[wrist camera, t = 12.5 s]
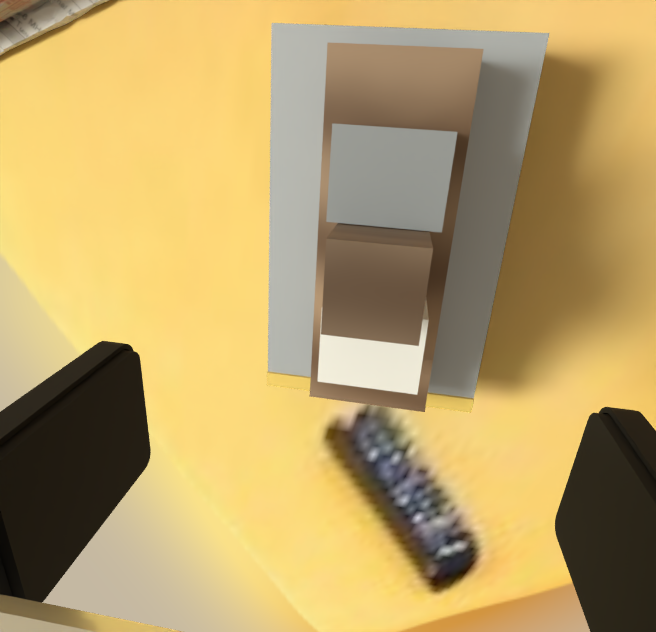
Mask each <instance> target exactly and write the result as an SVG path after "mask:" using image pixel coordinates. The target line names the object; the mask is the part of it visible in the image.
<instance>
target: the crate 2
mask: <svg viewBox="0 0 656 632" xmlns="http://www.w3.org/2000/svg"><path fill="white" fill-rule="evenodd" d="M321 322H322V312H321ZM428 322H429V318H428V309H427V301H426V300H425V307H424V314H423V321H422V327H421V334H420V341H419V346H414V345H406V344H397V343H389V342H380V341H372V340H364V339H355V338H347V337H338V336H330V335H322V334H321V329H320V347H319V364H318V382H325V383H333V384H340V385H348V386H355V387H363V388H371V389H378V390H386V391H393V392H401V393H408V394H416V395H417V393H418V387H419V380H420V374H421V367H422V361H423V354H424V348H425V341H426V335H427V328H428Z"/></svg>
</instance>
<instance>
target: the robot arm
mask: <svg viewBox="0 0 656 632" xmlns="http://www.w3.org/2000/svg"><path fill="white" fill-rule="evenodd" d="M149 459H150V442H149V433H148V424H147V416H146V407H145V398H144V390H143V381H142V372H141V364H140V357H139V355H138V353H137V352H134V351H133V349H132V347H131V346H130V345H129V344H123V343H115V342H107V341H101V342H99V343H98V344H96V345H95V346H93V347H92V348H90V349H89V350H88V351H86V352H85V353H83V354H82V355H80V356H79V357H78V358H76V359H75V360H73V361H72V362H70V363H69V364H68V365H66V366H65V367H63V368H62V369H61V370H59V371H58V372H56V373H55V374H53V375H52V376H51V377H49V378H48V379H46V380H45V381H43V382H42V383H41V384H39V385H38V386H36V387H35V388H34V389H32V390H31V391H29V392H28V393H26V394H25V395H24V396H22V397H21V398H19V399H18V400H16V401H15V402H14V403H12V404H11V405H9V406H8V407H6V408H5V409H4V410H2V411H1V412H0V632H181V631H177V630H172V629H168V628H163V627H158V626H153V625H148V624H143V623H138V622H133V621H128V620H124V619H119V618H114V617H109V616H104V615H99V614H95V613H90V612H85V611H80V610H75V609H70V608H65V607H60V606H56V605H50V604H46V603H42V602H43V601H44V600H45V599H46V597H47V596H48V594H49V593H50V592H51V591H52V589H53V588H54V587H55V585H56V584H57V583H58V581H59V580H60V579H61V578H62V576H63V575H64V574H65V572H66V571H67V570H68V569H69V567H70V566H71V565H72V563H73V562H74V561H75V559H76V558H77V557H78V556H79V554H80V553H81V552H82V550H83V549H84V548H85V546H86V545H87V544H88V542H89V541H90V540H91V539H92V537H93V536H94V535H95V533H96V532H97V531H98V529H99V528H100V527H101V525H102V524H103V523H104V522H105V520H106V519H107V518H108V516H109V515H110V514H111V513H112V511H113V510H114V509H115V507H116V506H117V505H118V503H119V502H120V501H121V500H122V498H123V497H124V496H125V494H126V493H127V492H128V490H129V489H130V488H131V486H132V485H133V484H134V482H135V481H136V480H137V479H138V477H139V476H140V475H141V473H142V472H143V471H144V470H145V468H146V466H147V464H148V462H149ZM555 531H556V536H557V539H558V542H559V545H560V548H561V550H562V553H563V556H564V559H565V562H566V564H567V567H568V570H569V573H570V576H571V578H572V581H573V584H574V587H575V590H576V592H577V595H578V598H579V601H580V604H581V607H582V609H583V612H584V615H585V618H586V620H587V623H588V626H589V629H590V632H656V431H655V430H654V428H653V427H652V426H651V425H650V423H649V422H648V421H647V420H646V418H645V417H644V416H643V415H642V414H641V413H640V412H639V411H634V410H626V409H618V408H611V407H604V408H602V409H601V410H600V412H599V413H592V414H591V415H590V417H589V419H588V421H587V424H586V427H585V430H584V433H583V437H582V440H581V443H580V446H579V449H578V452H577V455H576V458H575V461H574V464H573V467H572V470H571V473H570V476H569V479H568V482H567V485H566V488H565V491H564V494H563V497H562V500H561V503H560V506H559V509H558V512H557V515H556V519H555Z"/></svg>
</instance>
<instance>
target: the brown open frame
mask: <svg viewBox="0 0 656 632" xmlns="http://www.w3.org/2000/svg"><path fill="white" fill-rule="evenodd" d="M483 50H484V49H475V48H451V47H426V46H402V45H378V44H353V43H329V42H328V43H327V63H326V82H325V102H324V122H323V142H322V162H321V181H320V201H319V221H318V241H317V261H316V280H315V300H314V320H313V340H312V360H311V379H310V396H311V397H319V398H326V399H333V400H341V401H348V402H355V403H363V404H370V405H377V406H385V407H392V408H400V409H407V410H414V411H422V412H425V406H426V400H427V394H428V388H429V382H430V376H431V369H432V363H433V357H434V351H435V345H436V339H437V333H438V326H439V320H440V314H441V308H442V302H443V296H444V289H445V283H446V277H447V271H448V265H449V259H450V253H451V246H452V240H453V234H454V228H455V222H456V216H457V210H458V203H459V197H460V191H461V185H462V179H463V173H464V166H465V160H466V154H467V148H468V142H469V136H470V130H471V123H472V117H473V111H474V105H475V99H476V93H477V86H478V80H479V74H480V68H481V62H482V56H483ZM332 123H333V124H348V125H363V126H377V127H392V128H407V129H422V130H437V131H451V132H458V133H457V139H456V145H455V152H454V158H453V164H452V171H451V177H450V183H449V190H448V196H447V203H446V209H445V215H444V222H443V228H442V233H441V232H430V231H420V230H409V229H398V228H388V227H377V226H366V225H355V224H345V223H334V222H326V219H327V202H328V186H329V170H330V153H331V137H332ZM425 300H426V301H427V309H428V318H429V322H428V328H427V335H426V341H425V348H424V354H423V361H422V367H421V374H420V380H419V387H418V393H417V395H416V394H408V393H401V392H393V391H386V390H378V389H371V388H363V387H355V386H348V385H340V384H333V383H325V382H318V364H319V347H320V329H321V334H322V335H330V336H338V337H347V338H355V339H364V340H372V341H380V342H389V343H397V344H406V345H414V346H419V341H420V334H421V327H422V321H423V314H424V307H425ZM321 312H322V322H321Z"/></svg>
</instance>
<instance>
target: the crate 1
mask: <svg viewBox="0 0 656 632" xmlns="http://www.w3.org/2000/svg"><path fill="white" fill-rule="evenodd" d="M457 133H458V132H451V131H437V130H422V129H407V128H392V127H377V126H363V125H348V124H333V123H332V137H331V153H330V170H329V186H328V202H327V219H326V222H334V223H345V224H355V225H366V226H377V227H388V228H398V229H409V230H420V231H430V232H441V233H442V228H443V222H444V215H445V209H446V203H447V196H448V190H449V183H450V177H451V171H452V164H453V158H454V152H455V145H456V139H457Z"/></svg>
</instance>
